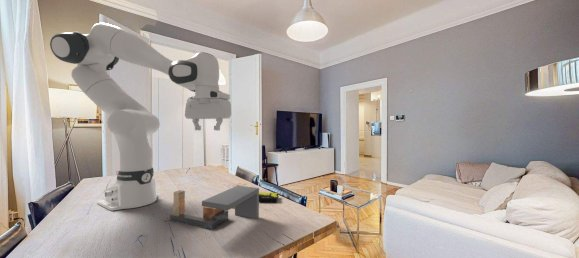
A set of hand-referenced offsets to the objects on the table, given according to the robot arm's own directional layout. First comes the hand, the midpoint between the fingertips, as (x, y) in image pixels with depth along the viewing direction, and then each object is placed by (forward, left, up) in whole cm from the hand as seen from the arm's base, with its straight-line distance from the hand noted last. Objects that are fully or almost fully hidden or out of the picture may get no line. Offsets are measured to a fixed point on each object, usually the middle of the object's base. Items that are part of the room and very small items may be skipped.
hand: (207, 130), depth 83 cm
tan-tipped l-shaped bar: (+5, -9, -31) cm, 33 cm away
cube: (+9, -7, -31) cm, 33 cm away
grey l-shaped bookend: (+18, -9, -31) cm, 37 cm away
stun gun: (+14, +13, -32) cm, 37 cm away
